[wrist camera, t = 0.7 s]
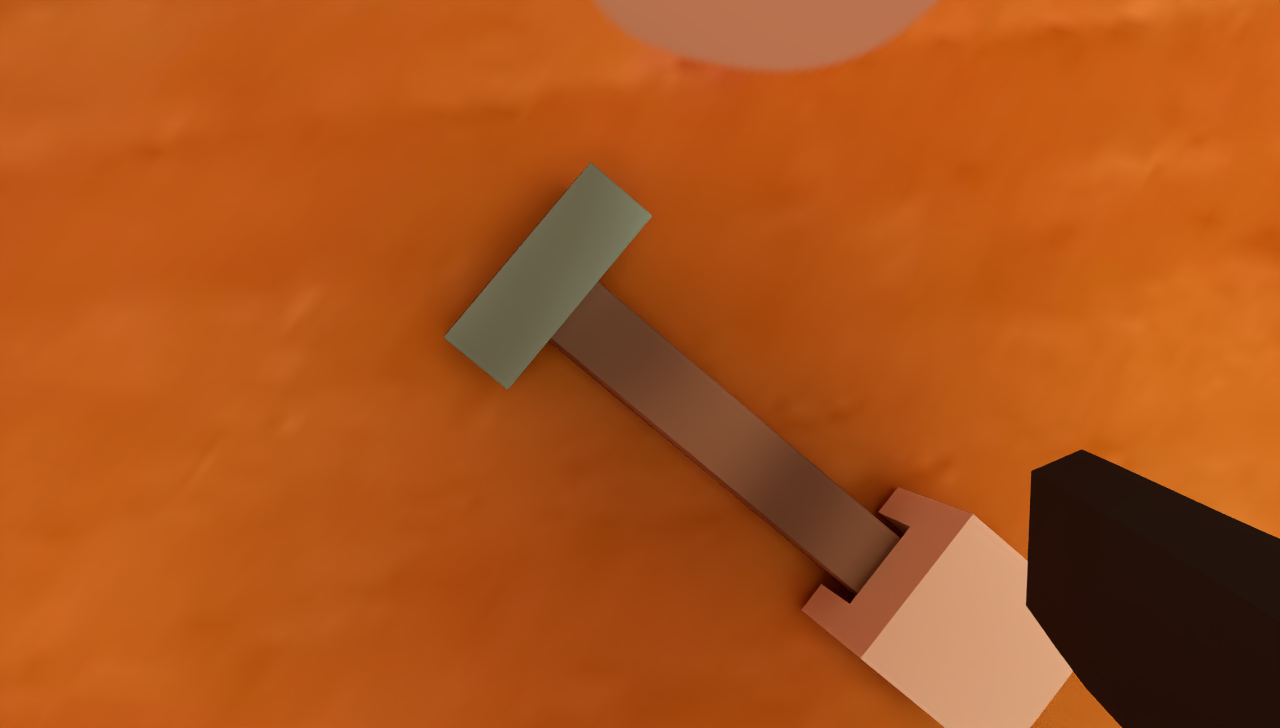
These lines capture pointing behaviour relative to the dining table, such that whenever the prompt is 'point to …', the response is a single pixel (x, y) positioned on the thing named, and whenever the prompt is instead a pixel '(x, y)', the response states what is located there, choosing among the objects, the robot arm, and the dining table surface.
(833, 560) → the rail
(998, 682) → the keeper
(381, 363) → the dining table surface
